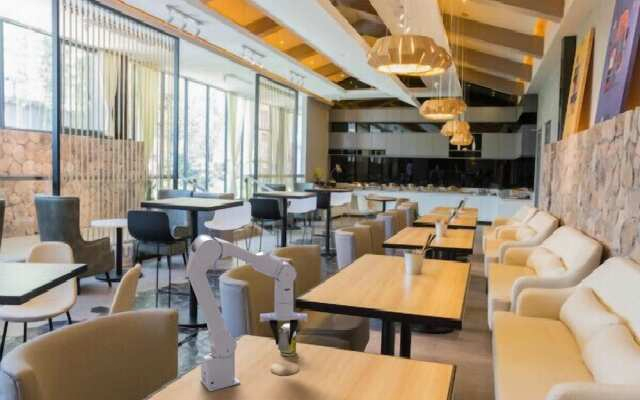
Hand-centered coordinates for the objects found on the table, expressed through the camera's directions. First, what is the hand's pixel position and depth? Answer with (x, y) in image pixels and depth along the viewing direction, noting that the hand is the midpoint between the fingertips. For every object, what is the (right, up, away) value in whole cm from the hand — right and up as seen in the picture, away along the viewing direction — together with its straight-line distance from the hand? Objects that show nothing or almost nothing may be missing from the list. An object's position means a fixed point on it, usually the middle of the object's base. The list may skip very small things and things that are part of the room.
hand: (283, 343), depth 156 cm
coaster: (0, -9, +2) cm, 9 cm away
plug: (0, -2, 0) cm, 2 cm away
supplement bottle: (+1, -8, +14) cm, 16 cm away
